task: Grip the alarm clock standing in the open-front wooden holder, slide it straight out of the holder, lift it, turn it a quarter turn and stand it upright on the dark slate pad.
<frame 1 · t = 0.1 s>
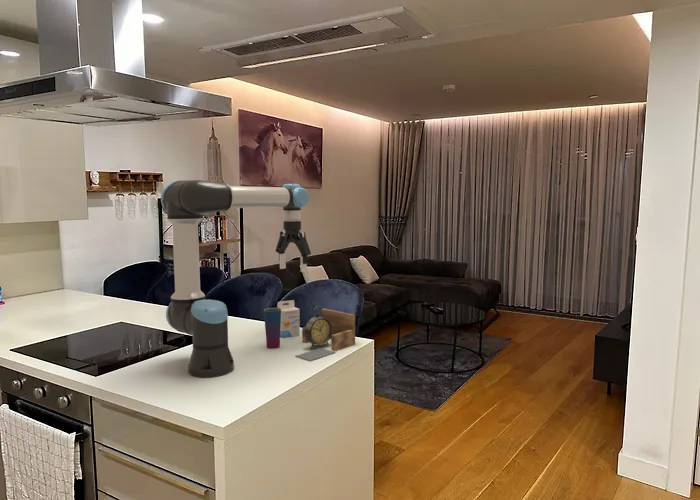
hand: (293, 270, 210), 28 cm above the worktop, fingers open, 13 cm apart
alarm clock: (317, 347, 194), on the worktop
ink box: (288, 335, 210), on the worktop
wooden holder: (326, 343, 198), on the worktop
slate pad: (315, 354, 184), on the worktop
cup: (273, 347, 194), on the worktop
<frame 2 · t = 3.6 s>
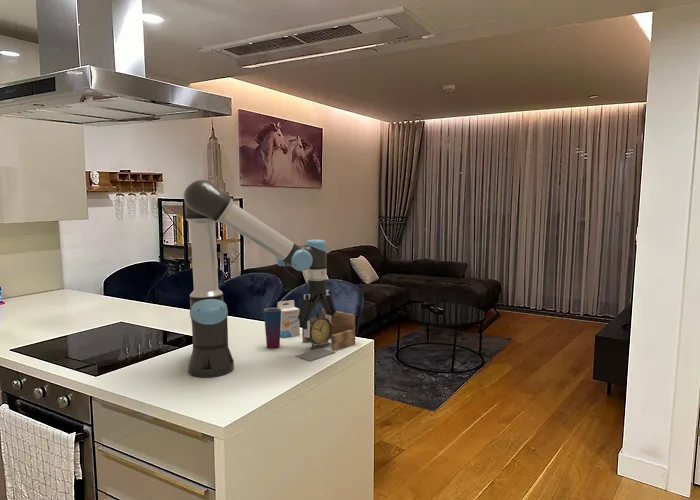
hand: (317, 333, 194), 5 cm above the worktop, fingers closed on alarm clock, 11 cm apart
alarm clock: (317, 347, 194), on the worktop, touching gripper
everything else where it was.
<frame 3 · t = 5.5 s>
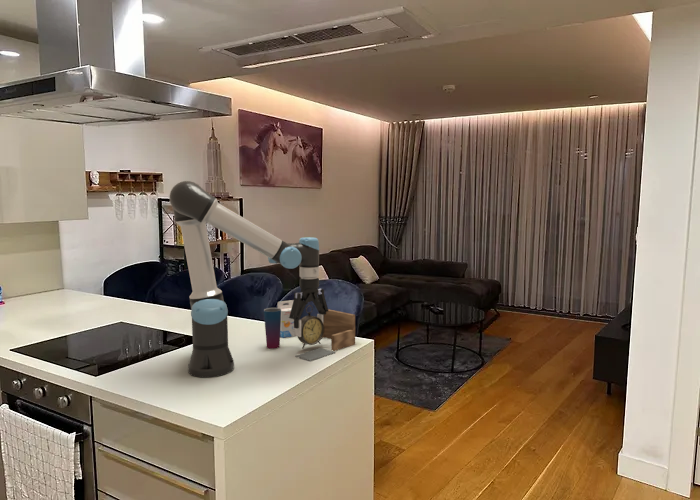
hand: (309, 333, 191), 6 cm above the worktop, fingers closed on alarm clock, 11 cm apart
alarm clock: (309, 346, 191), point 1 cm above the worktop, touching gripper
everything else where it was.
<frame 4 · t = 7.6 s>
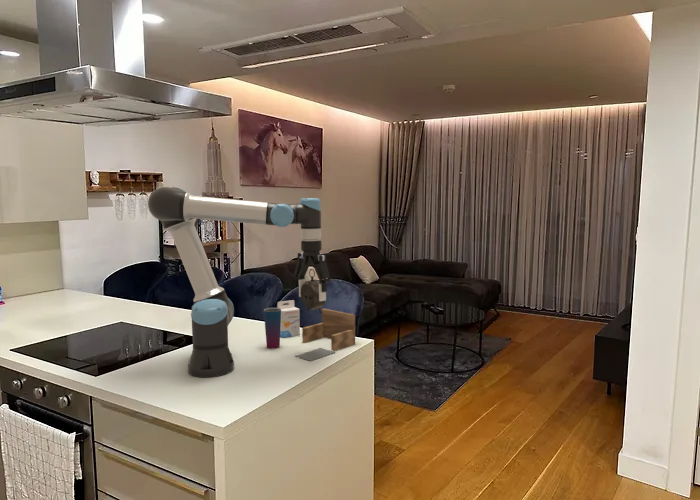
hand: (312, 298, 183), 21 cm above the worktop, fingers closed on alarm clock, 11 cm apart
alarm clock: (312, 312, 183), point 16 cm above the worktop, touching gripper
everything else where it was.
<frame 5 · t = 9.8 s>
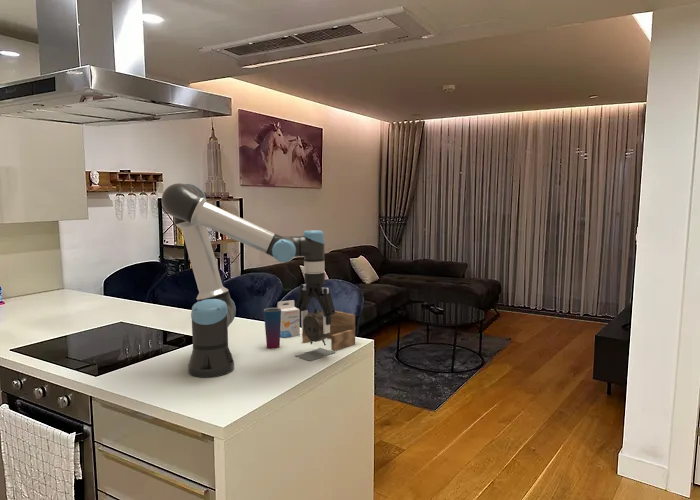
hand: (315, 330, 183), 9 cm above the worktop, fingers closed on alarm clock, 11 cm apart
alarm clock: (315, 344, 183), point 4 cm above the worktop, touching gripper
everything else where it was.
when the fingers open (6 cm above the worktop, at t = 11.5 s): alarm clock stays where it is, resting on slate pad.
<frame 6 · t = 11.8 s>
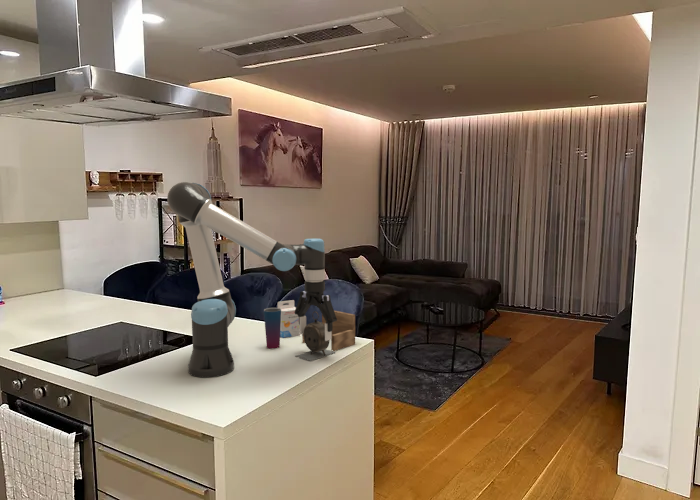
hand: (315, 336, 183), 7 cm above the worktop, fingers open, 13 cm apart
alarm clock: (315, 354, 184), resting on slate pad
everything else where it was.
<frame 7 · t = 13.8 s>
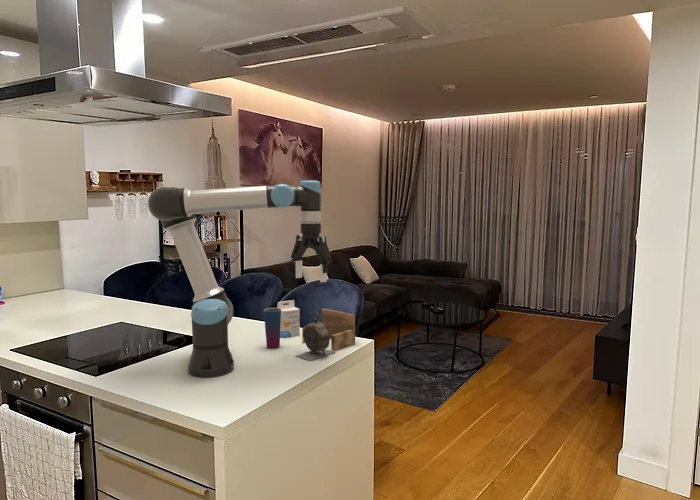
hand: (310, 279, 182), 28 cm above the worktop, fingers open, 13 cm apart
nothing on the worktop moved.
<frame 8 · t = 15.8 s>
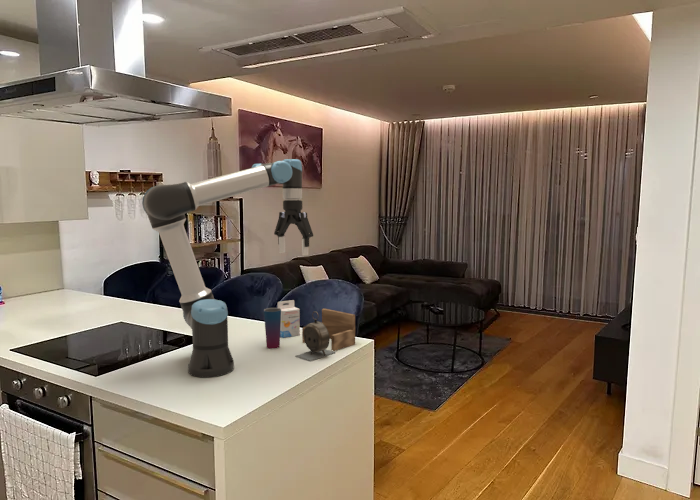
hand: (293, 254, 192), 37 cm above the worktop, fingers open, 13 cm apart
nothing on the worktop moved.
at the end: alarm clock 0.1 cm from the slate pad (horizontally); alarm clock tilted 0°; the gripper is holding nothing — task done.
